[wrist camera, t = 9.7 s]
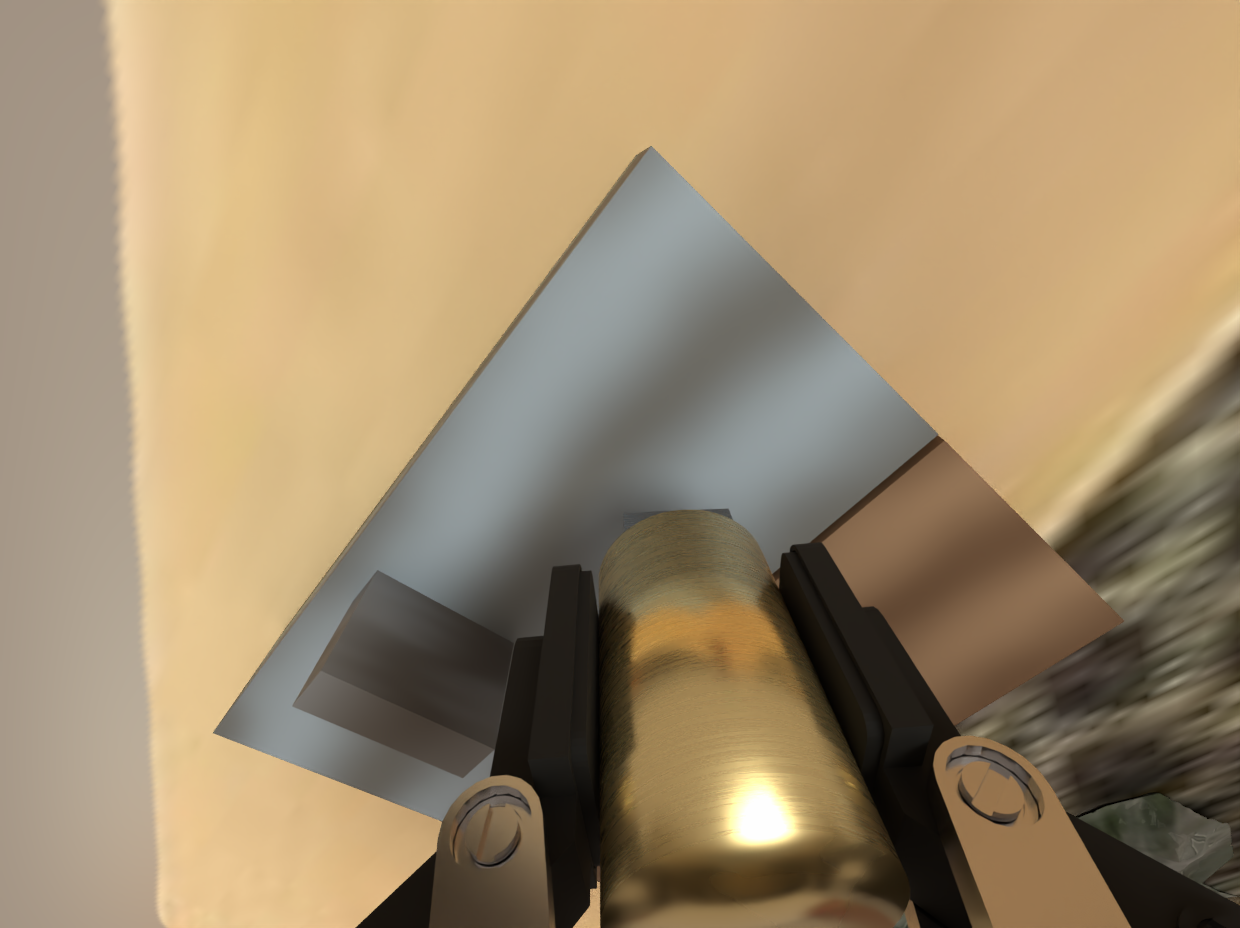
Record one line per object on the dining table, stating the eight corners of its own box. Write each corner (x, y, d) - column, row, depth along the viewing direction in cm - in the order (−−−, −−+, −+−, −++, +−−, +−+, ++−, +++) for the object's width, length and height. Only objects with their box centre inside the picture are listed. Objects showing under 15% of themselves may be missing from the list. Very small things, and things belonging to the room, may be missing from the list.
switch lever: (723, 787, 17) (798, 1145, 11) (610, 793, 17) (620, 1156, 11) (758, 476, 12) (947, 822, 5) (594, 482, 12) (593, 840, 5)
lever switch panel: (1023, 536, 23) (1240, 718, 15) (652, 802, 31) (670, 1010, 23) (635, 155, 16) (674, 131, 8) (283, 630, 24) (132, 848, 16)
